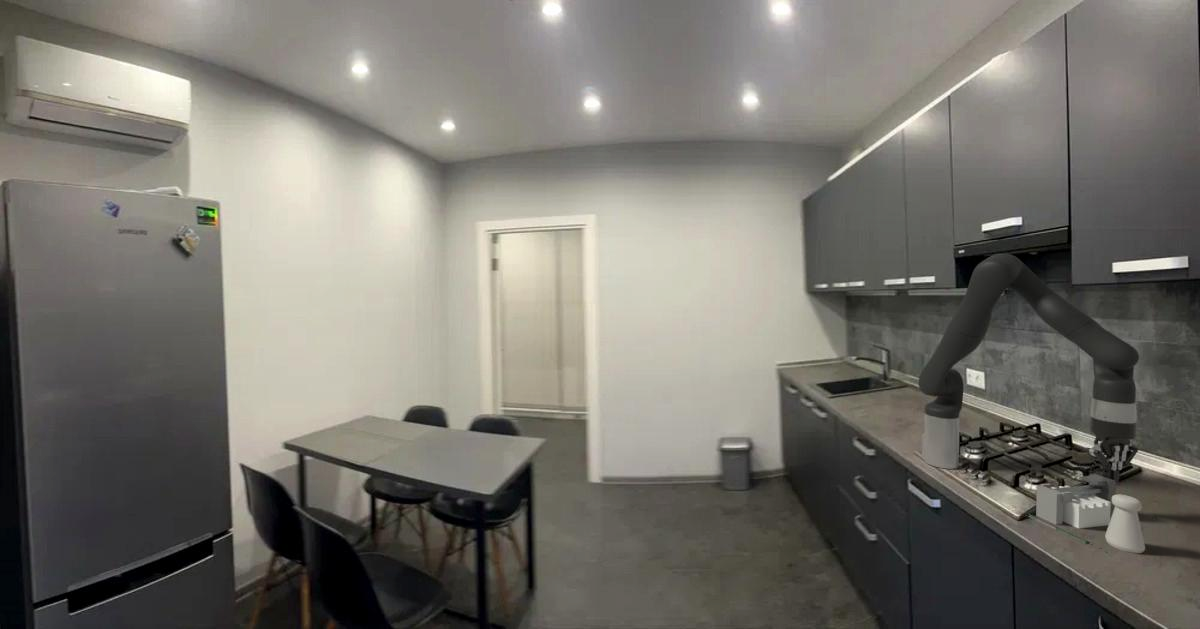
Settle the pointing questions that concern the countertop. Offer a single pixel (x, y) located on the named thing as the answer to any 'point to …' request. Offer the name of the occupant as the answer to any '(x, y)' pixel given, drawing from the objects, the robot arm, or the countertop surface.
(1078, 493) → the strap
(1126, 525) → the salt shaker
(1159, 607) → the countertop surface
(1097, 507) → the heatsink base
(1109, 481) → the block
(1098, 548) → the countertop surface
